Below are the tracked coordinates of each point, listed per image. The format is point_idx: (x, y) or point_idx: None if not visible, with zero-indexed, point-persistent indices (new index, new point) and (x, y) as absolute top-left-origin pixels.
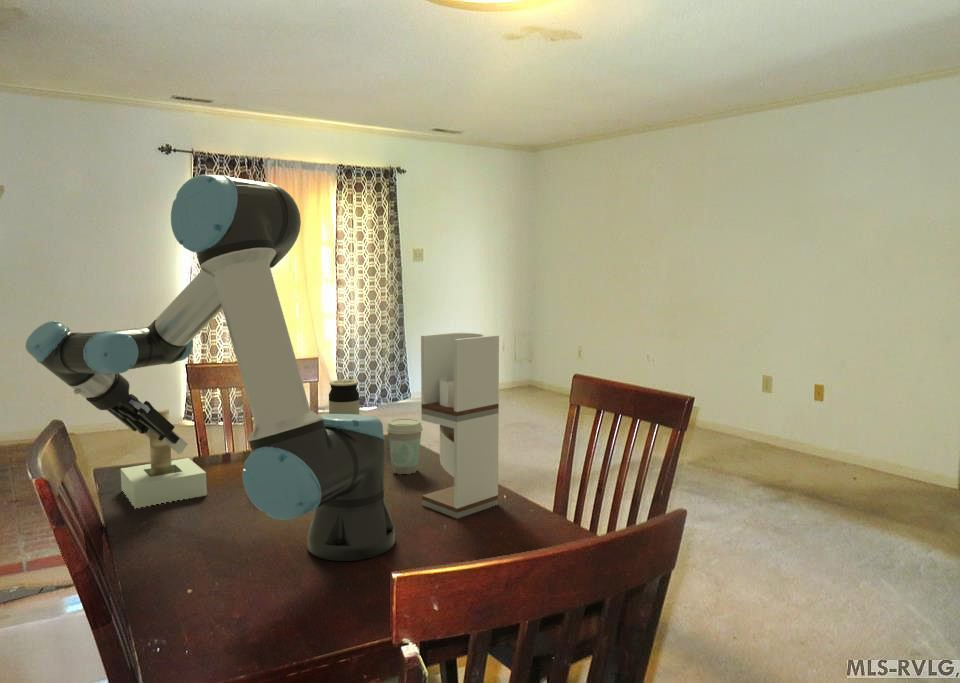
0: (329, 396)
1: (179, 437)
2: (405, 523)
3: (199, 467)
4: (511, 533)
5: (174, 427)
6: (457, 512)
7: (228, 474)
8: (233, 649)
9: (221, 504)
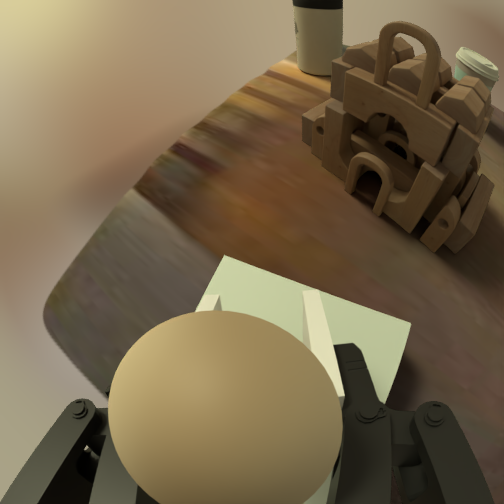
0: (308, 2)
1: (326, 325)
2: None
3: (350, 302)
4: None
5: (441, 404)
6: None
7: (288, 210)
8: None
9: (455, 348)
